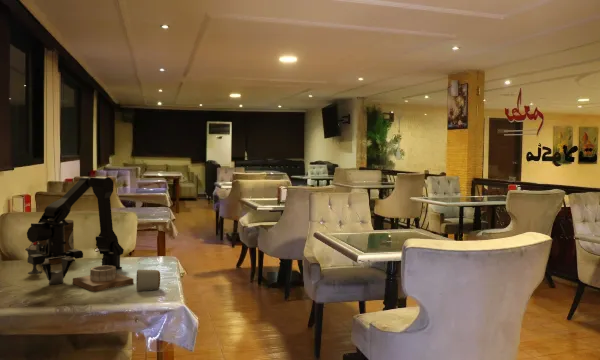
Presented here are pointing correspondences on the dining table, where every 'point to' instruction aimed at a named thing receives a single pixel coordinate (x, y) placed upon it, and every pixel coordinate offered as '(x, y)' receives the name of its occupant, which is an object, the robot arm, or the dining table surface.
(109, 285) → the brown board with ring
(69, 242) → the wooden container
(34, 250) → the sundae
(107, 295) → the dining table surface
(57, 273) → the smooth gray stone
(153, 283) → the ceramic mug
